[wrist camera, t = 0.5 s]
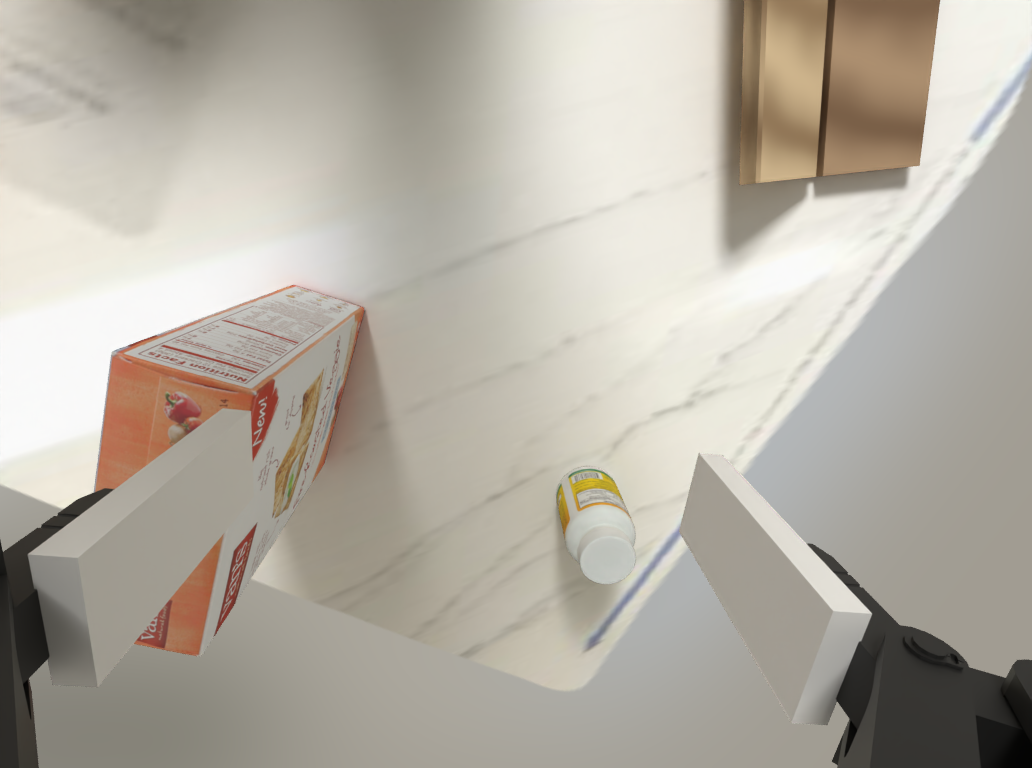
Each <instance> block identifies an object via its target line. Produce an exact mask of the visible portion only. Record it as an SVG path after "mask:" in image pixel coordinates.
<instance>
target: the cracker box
mask: <svg viewBox="0 0 1032 768" xmlns="http://www.w3.org/2000/svg"><path fill="white" fill-rule="evenodd" d="M363 313H364V308H363V307H361V306H357V305H354V304H351V303H348V302H345V301H342V300H339V299H336V298H333V297H330V296H326V295H323V294H320V293H317V292H314V291H311V290H308V289H304V288H301V287H298V286H296V285H292V286H289V287H286V288H283V289H280V290H277V291H275V292H272V293H269V294H267V295H264V296H261V297H258V298H256V299H253V300H250V301H247V302H244V303H242V304H239V305H236V306H234V307H231V308H228V309H226V310H223V311H220V312H217V313H215V314H212V315H209V316H207V317H204V318H201V319H198V320H196V321H193V322H190V323H188V324H185V325H182V326H179V327H177V328H174V329H171V330H169V331H166V332H163V333H161V334H158V335H155V336H152V337H150V338H147V339H144V340H141V341H139V342H136V343H133V344H131V345H128V346H126V347H123V348H120V349H117V350H115V351H113V352H112V354H111V361H110V368H109V376H108V383H107V392H106V400H105V408H104V416H103V424H102V431H101V439H100V447H99V455H98V463H97V471H96V479H95V486H94V492H97V491H99V490H101V489H104V488H109V489H116V488H117V487H118V486H120V485H121V484H122V483H124V482H125V481H126V480H128V479H129V478H130V477H132V476H133V475H134V474H136V473H137V472H138V471H140V470H141V469H142V468H144V467H145V466H146V465H148V464H149V463H150V462H152V461H153V460H154V459H156V458H157V457H158V456H160V455H161V454H162V453H164V452H165V451H166V450H168V449H169V448H170V447H172V446H173V445H174V444H176V443H177V442H178V441H180V440H181V439H182V438H184V437H185V436H186V435H188V434H189V433H190V432H192V431H193V430H194V429H196V428H197V427H198V426H200V425H201V424H202V423H204V422H205V421H206V420H208V419H209V418H210V417H212V416H213V415H214V414H216V413H217V412H218V411H220V410H221V409H222V408H225V409H236V410H246V411H251V429H252V459H253V488H254V497H253V498H252V500H251V501H250V502H249V503H248V504H247V506H246V507H245V508H244V509H243V511H242V512H241V513H240V514H239V515H238V517H237V518H236V519H235V520H234V522H233V523H232V524H231V525H230V526H229V528H228V529H227V530H226V531H225V533H224V534H223V535H222V536H221V537H220V539H219V540H218V541H217V542H216V544H215V545H214V546H213V547H212V548H211V550H210V551H209V552H208V553H207V555H206V556H205V557H204V558H203V559H202V561H201V562H200V563H199V564H198V566H197V567H196V568H195V569H194V570H193V572H192V573H191V574H190V575H189V577H188V578H187V579H186V580H185V581H184V583H183V584H182V585H181V586H180V588H179V589H178V590H177V591H176V592H175V594H174V595H173V596H172V597H171V599H170V600H169V601H168V602H167V603H166V605H165V606H164V607H163V608H162V610H161V611H160V612H159V613H158V614H157V616H156V617H155V618H154V619H153V621H152V622H151V623H150V624H149V625H148V627H147V628H146V629H145V630H144V632H143V633H142V634H141V635H140V636H139V638H138V639H137V640H136V641H135V643H134V644H137V645H143V646H147V647H152V648H157V649H162V650H167V651H173V652H177V653H183V654H189V655H194V656H198V657H200V656H202V655H203V653H204V652H205V650H206V648H207V647H208V645H209V644H210V642H211V640H212V639H213V637H214V636H215V634H216V633H217V631H218V629H219V628H220V626H221V625H222V623H223V622H224V620H225V619H226V617H227V616H228V614H229V612H230V611H231V609H232V608H233V606H234V604H235V603H236V601H237V600H238V598H239V596H240V595H241V593H242V592H243V590H244V588H245V587H246V585H247V584H248V582H249V580H250V579H251V577H252V576H253V574H254V573H255V571H256V569H257V568H258V566H259V565H260V563H261V562H262V560H263V559H264V557H265V556H266V554H267V553H268V551H269V549H270V548H271V546H272V545H273V543H274V542H275V540H276V539H277V537H278V535H279V534H280V532H281V531H282V529H283V528H284V526H285V524H286V523H287V521H288V520H289V518H290V517H291V515H292V513H293V512H294V510H295V509H296V507H297V505H298V504H299V502H300V501H301V499H302V498H303V496H304V495H305V493H306V492H307V490H308V488H309V487H310V485H311V484H312V482H313V481H314V479H315V477H316V476H317V474H318V473H319V471H320V470H321V468H322V466H323V465H324V463H325V458H326V454H327V450H328V446H329V443H330V439H331V435H332V431H333V428H334V424H335V420H336V416H337V412H338V408H339V404H340V401H341V397H342V393H343V389H344V386H345V382H346V378H347V374H348V371H349V367H350V363H351V359H352V356H353V352H354V348H355V344H356V340H357V336H358V333H359V329H360V325H361V321H362V317H363Z"/></svg>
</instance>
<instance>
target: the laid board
mask: <svg viewBox="0 0 1032 768" xmlns="http://www.w3.org/2000/svg"><path fill="white" fill-rule="evenodd" d="M939 4H940V0H828V9H827V23H826V38H825V52H824V67H823V81H822V96H821V111H820V125H819V140H818V154H817V169H816V177H819V176H828V175H837V174H847V173H856V172H865V171H874V170H884V169H893V168H902V167H911V166H919V165H920V157H921V149H922V141H923V132H924V124H925V116H926V108H927V100H928V92H929V84H930V76H931V68H932V60H933V52H934V44H935V36H936V28H937V20H938V12H939ZM809 178H810V177H809Z"/></svg>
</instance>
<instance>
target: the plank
mask: <svg viewBox="0 0 1032 768" xmlns="http://www.w3.org/2000/svg"><path fill="white" fill-rule="evenodd" d="M827 9H828V0H744V27H743V64H742V102H741V139H740V176H739V185H744V184H754V183H763V182H772V181H782V180H791V179H800V178H809V177H816V169H817V154H818V140H819V125H820V111H821V96H822V81H823V67H824V52H825V38H826V23H827Z"/></svg>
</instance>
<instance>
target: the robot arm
mask: <svg viewBox="0 0 1032 768" xmlns="http://www.w3.org/2000/svg"><path fill="white" fill-rule="evenodd" d="M253 497H254V488H253V459H252V429H251V411H246V410H236V409H225V408H222V409H221V410H220V411H218V412H217V413H216V414H214V415H213V416H212V417H210V418H209V419H208V420H206V421H205V422H204V423H202V424H201V425H200V426H198V427H197V428H196V429H194V430H193V431H192V432H190V433H189V434H188V435H186V436H185V437H184V438H182V439H181V440H180V441H178V442H177V443H176V444H174V445H173V446H172V447H170V448H169V449H168V450H166V451H165V452H164V453H162V454H161V455H160V456H158V457H157V458H156V459H154V460H153V461H152V462H150V463H149V464H148V465H146V466H145V467H144V468H142V469H141V470H140V471H138V472H137V473H136V474H134V475H133V476H132V477H130V478H129V479H128V480H126V481H125V482H124V483H122V484H121V485H120V486H118V487H117V488H116V489H109V488H104V489H101V490H99V491H97V492H94V493H92V494H89V495H87V496H85V497H82V498H80V499H78V500H76V501H75V502H73V503H72V504H71V505H69V506H68V507H66V508H65V509H63V510H62V511H61V512H59V513H58V516H54V517H52V518H51V519H49V520H48V521H46V522H45V523H44V524H42V526H41V528H37V529H35V530H34V531H32V532H31V533H29V534H28V535H27V536H25V537H24V538H23V539H21V540H20V541H18V542H17V543H15V544H14V545H13V546H11V547H10V548H8V549H7V550H5V551H4V552H3V551H2V547H1V542H0V768H39V767H38V755H37V744H36V733H35V723H34V712H33V701H32V691H31V687H30V682H29V677H30V676H31V675H32V674H33V673H34V672H35V671H36V670H37V669H38V668H39V667H40V666H41V665H42V664H43V663H44V662H45V661H46V660H47V659H48V664H49V669H50V674H51V680H52V685H63V686H83V687H98V686H99V685H100V684H101V683H102V682H103V680H104V679H105V678H106V677H107V676H108V674H109V673H110V672H111V671H112V669H113V668H114V667H115V666H116V664H117V663H118V662H119V661H120V660H121V658H122V657H123V656H124V655H125V654H126V652H127V651H128V650H129V649H130V647H131V646H132V645H133V644H134V643H135V641H136V640H137V639H138V638H139V636H140V635H141V634H142V633H143V632H144V630H145V629H146V628H147V627H148V625H149V624H150V623H151V622H152V621H153V619H154V618H155V617H156V616H157V614H158V613H159V612H160V611H161V610H162V608H163V607H164V606H165V605H166V603H167V602H168V601H169V600H170V599H171V597H172V596H173V595H174V594H175V592H176V591H177V590H178V589H179V588H180V586H181V585H182V584H183V583H184V581H185V580H186V579H187V578H188V577H189V575H190V574H191V573H192V572H193V570H194V569H195V568H196V567H197V566H198V564H199V563H200V562H201V561H202V559H203V558H204V557H205V556H206V555H207V553H208V552H209V551H210V550H211V548H212V547H213V546H214V545H215V544H216V542H217V541H218V540H219V539H220V537H221V536H222V535H223V534H224V533H225V531H226V530H227V529H228V528H229V526H230V525H231V524H232V523H233V522H234V520H235V519H236V518H237V517H238V515H239V514H240V513H241V512H242V511H243V509H244V508H245V507H246V506H247V504H248V503H249V502H250V501H251V500H252V498H253ZM679 532H680V534H681V535H682V537H683V539H684V541H685V542H686V544H687V546H688V547H689V549H690V551H691V553H692V554H693V556H694V558H695V559H696V561H697V563H698V565H699V566H700V568H701V570H702V571H703V573H704V575H705V577H706V578H707V580H708V582H709V583H710V585H711V587H712V589H713V590H714V592H715V594H716V595H717V597H718V599H719V600H720V602H721V604H722V605H723V607H724V609H725V611H726V612H727V614H728V616H729V618H730V619H731V621H732V623H733V624H734V626H735V628H736V629H737V631H738V633H739V635H740V636H741V638H742V640H743V641H744V643H745V645H746V647H747V648H748V650H749V652H750V654H751V655H752V657H753V659H754V660H755V662H756V663H757V666H758V667H759V669H760V671H761V672H762V674H763V676H764V677H765V679H766V681H767V683H768V684H769V686H770V688H771V689H772V691H773V693H774V695H775V696H776V698H777V700H778V701H779V703H780V705H781V706H782V708H783V710H784V711H785V713H786V715H787V717H788V718H789V720H790V722H791V723H799V724H818V725H828V722H829V720H830V717H831V714H832V712H833V710H834V707H835V705H836V702H838V703H839V704H840V706H841V707H842V709H843V710H844V711H845V713H846V714H847V716H848V717H849V722H848V724H847V726H846V729H845V731H844V734H843V736H842V738H841V741H840V743H839V745H838V748H837V750H836V753H835V755H834V757H833V760H832V762H833V763H835V764H837V765H838V767H837V768H1032V660H1017V661H1016V662H1015V663H1014V664H1013V666H1012V668H1011V670H1010V671H1009V673H1008V675H1007V677H1006V678H1004V677H1000V676H997V675H993V674H990V673H986V672H983V671H979V670H976V669H973V668H969V666H968V664H967V662H966V661H965V660H964V658H963V657H962V656H961V655H960V654H959V653H958V652H957V651H956V650H954V649H953V648H952V647H950V646H949V645H948V644H946V643H945V642H944V641H942V640H940V639H938V638H936V637H934V636H933V635H931V634H929V633H927V632H924V631H921V630H919V629H916V628H913V627H908V626H900V625H899V624H898V623H897V622H896V621H895V620H894V619H893V618H892V617H891V616H890V615H889V614H888V613H887V612H886V611H885V610H884V609H883V608H882V607H881V606H880V605H879V604H878V603H877V602H876V601H875V600H874V599H873V598H872V597H871V596H870V595H869V594H868V593H867V592H866V591H865V590H864V588H861V587H860V586H859V583H858V582H857V581H856V580H855V579H854V578H853V577H852V576H851V575H848V574H847V573H848V572H847V571H846V570H845V569H844V568H843V567H842V566H841V565H840V564H839V563H838V562H837V561H836V560H835V559H834V558H833V557H832V556H830V555H829V554H827V553H826V552H824V551H823V550H821V549H819V548H818V547H816V546H815V545H813V544H807V543H805V542H804V541H803V540H802V539H801V538H800V537H799V536H798V534H797V533H796V532H795V531H794V530H793V529H792V528H791V527H790V526H789V525H788V524H787V523H786V522H785V521H784V520H783V518H782V517H781V516H779V514H778V513H777V512H776V511H775V510H774V509H773V508H772V507H771V506H770V505H769V504H768V503H767V501H765V500H764V498H763V497H762V496H761V495H760V494H759V493H758V492H757V491H756V490H755V489H754V488H753V487H752V486H751V485H750V483H749V482H748V481H747V480H746V479H745V478H744V477H743V476H742V475H741V474H740V473H739V472H738V471H737V470H736V469H735V468H734V466H733V465H732V464H731V463H730V462H729V461H728V460H727V459H726V458H725V457H724V456H723V455H714V454H703V453H699V454H698V458H697V462H696V466H695V470H694V474H693V478H692V482H691V486H690V490H689V494H688V498H687V502H686V506H685V510H684V514H683V518H682V522H681V526H680V530H679Z"/></svg>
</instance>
